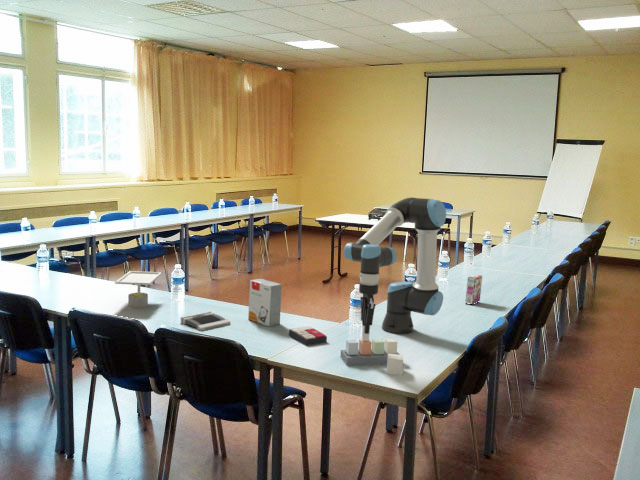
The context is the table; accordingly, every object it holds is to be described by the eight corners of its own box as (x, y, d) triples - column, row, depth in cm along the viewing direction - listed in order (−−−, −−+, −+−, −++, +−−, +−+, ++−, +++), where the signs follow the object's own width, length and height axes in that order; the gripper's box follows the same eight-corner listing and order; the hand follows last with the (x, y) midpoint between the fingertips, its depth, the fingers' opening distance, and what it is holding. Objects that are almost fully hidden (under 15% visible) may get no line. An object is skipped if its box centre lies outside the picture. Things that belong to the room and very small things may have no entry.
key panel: (393, 355, 254) (393, 348, 253) (401, 363, 244) (402, 356, 244) (340, 356, 249) (340, 349, 248) (346, 365, 239) (347, 358, 239)
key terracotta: (367, 351, 248) (368, 339, 247) (370, 354, 244) (371, 342, 243) (358, 351, 247) (359, 339, 246) (361, 354, 243) (362, 342, 242)
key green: (380, 350, 249) (381, 339, 248) (383, 354, 245) (384, 342, 244) (371, 351, 248) (372, 339, 247) (374, 354, 244) (375, 342, 243)
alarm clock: (209, 311, 298) (230, 315, 287) (210, 320, 298) (231, 325, 287) (180, 317, 285) (201, 322, 274) (180, 326, 285) (201, 332, 274)
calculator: (306, 338, 261) (288, 327, 273) (305, 347, 261) (288, 336, 274) (327, 335, 267) (309, 324, 279) (326, 344, 267) (308, 333, 280)
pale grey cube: (402, 375, 232) (403, 359, 231) (386, 373, 233) (387, 358, 232) (402, 369, 238) (403, 354, 237) (386, 368, 238) (387, 353, 238)
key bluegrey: (355, 351, 246) (355, 339, 246) (357, 354, 243) (358, 342, 242) (345, 351, 246) (346, 339, 245) (348, 355, 242) (348, 343, 241)
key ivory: (393, 350, 250) (394, 338, 249) (396, 353, 246) (397, 341, 245) (384, 350, 249) (385, 339, 248) (387, 354, 245) (388, 342, 245)
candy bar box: (473, 305, 348) (475, 277, 346) (464, 304, 351) (467, 276, 349) (480, 302, 357) (482, 275, 355) (472, 301, 360) (474, 274, 358)
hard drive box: (247, 319, 297) (248, 280, 294) (259, 317, 302) (260, 278, 299) (268, 326, 286) (270, 285, 284) (280, 324, 292) (282, 283, 289)
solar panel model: (149, 312, 301) (149, 283, 298) (114, 311, 300) (114, 281, 298) (161, 299, 328) (161, 272, 326) (129, 298, 327) (129, 270, 325)
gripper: (355, 279, 247) (352, 335, 250) (364, 286, 234) (360, 345, 237) (373, 280, 248) (369, 335, 251) (383, 286, 236) (379, 345, 239)
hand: (365, 340), depth 244 cm, fingers closed
